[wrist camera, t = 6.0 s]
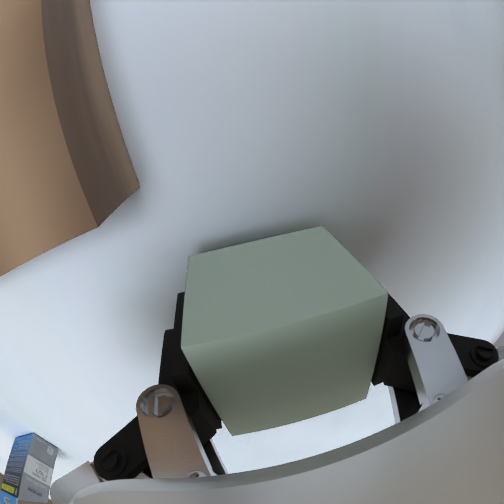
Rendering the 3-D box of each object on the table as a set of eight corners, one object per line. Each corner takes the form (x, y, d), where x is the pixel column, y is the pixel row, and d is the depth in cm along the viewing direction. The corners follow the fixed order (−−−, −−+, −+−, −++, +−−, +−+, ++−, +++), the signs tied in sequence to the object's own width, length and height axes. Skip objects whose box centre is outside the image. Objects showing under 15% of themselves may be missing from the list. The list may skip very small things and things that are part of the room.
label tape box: (36, 451, 19) (25, 518, 8) (13, 435, 18) (-2, 504, 7) (59, 447, 18) (48, 531, 7) (31, 430, 17) (14, 515, 6)
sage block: (322, 225, 10) (388, 292, 6) (325, 323, 12) (366, 398, 8) (188, 256, 10) (181, 347, 6) (221, 350, 12) (232, 436, 8)
